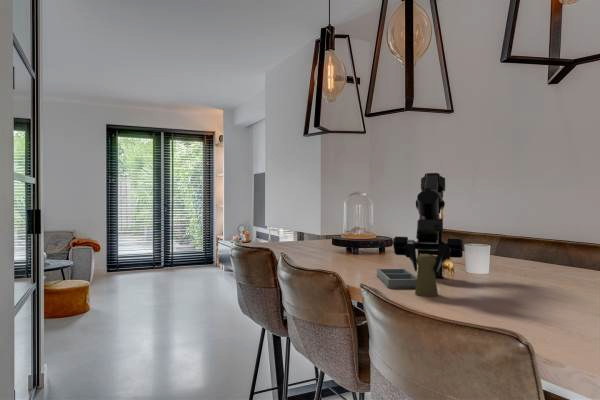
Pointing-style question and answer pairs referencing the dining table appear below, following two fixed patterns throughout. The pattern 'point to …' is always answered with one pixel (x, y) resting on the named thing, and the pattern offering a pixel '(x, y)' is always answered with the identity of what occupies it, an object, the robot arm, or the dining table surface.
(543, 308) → the dining table surface
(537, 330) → the dining table surface
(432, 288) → the olive green upright block
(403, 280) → the grey divided tray
